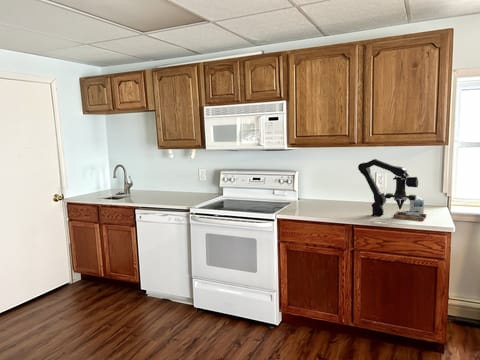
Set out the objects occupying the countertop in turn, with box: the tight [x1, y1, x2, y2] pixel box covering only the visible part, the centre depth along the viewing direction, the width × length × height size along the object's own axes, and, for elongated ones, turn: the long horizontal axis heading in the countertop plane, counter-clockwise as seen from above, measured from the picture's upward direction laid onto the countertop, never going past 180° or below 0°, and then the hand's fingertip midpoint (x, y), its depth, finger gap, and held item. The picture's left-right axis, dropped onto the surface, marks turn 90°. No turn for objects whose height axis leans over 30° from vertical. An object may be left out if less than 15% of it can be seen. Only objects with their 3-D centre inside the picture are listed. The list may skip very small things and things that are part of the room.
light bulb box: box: [409, 196, 425, 214], centre depth 255 cm, size 11×7×11 cm, turn 170°
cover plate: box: [406, 211, 422, 217], centre depth 239 cm, size 8×8×3 cm
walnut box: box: [392, 211, 427, 222], centre depth 241 cm, size 18×12×3 cm, turn 55°
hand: (400, 209), depth 244 cm, fingers closed
